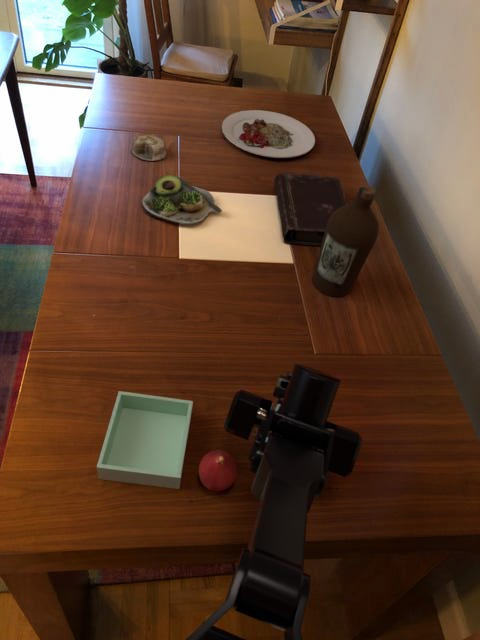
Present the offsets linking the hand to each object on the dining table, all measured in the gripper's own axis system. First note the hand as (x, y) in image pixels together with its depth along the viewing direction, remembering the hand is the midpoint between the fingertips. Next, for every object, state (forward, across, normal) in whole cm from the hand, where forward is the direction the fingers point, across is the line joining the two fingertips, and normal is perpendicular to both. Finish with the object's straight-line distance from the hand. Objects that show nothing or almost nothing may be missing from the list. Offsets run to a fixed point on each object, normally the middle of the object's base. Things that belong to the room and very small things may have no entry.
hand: (293, 420), depth 76 cm
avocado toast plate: (+42, +44, -33) cm, 69 cm away
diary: (+52, +11, -42) cm, 68 cm away
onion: (-2, +8, +13) cm, 15 cm away
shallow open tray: (-2, +20, +12) cm, 24 cm away
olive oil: (+35, 0, -26) cm, 44 cm away
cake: (+56, +61, -47) cm, 95 cm away
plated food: (+76, +34, -68) cm, 107 cm away
